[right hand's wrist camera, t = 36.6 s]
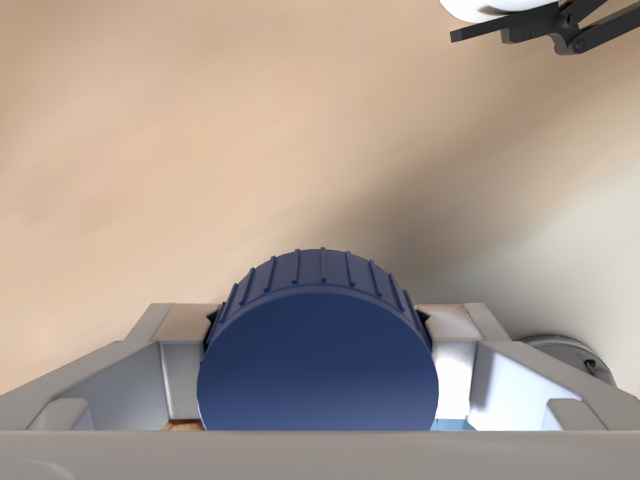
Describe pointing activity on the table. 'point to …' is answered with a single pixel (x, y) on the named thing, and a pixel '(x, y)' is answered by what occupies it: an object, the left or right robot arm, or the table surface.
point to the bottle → (488, 8)
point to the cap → (318, 350)
